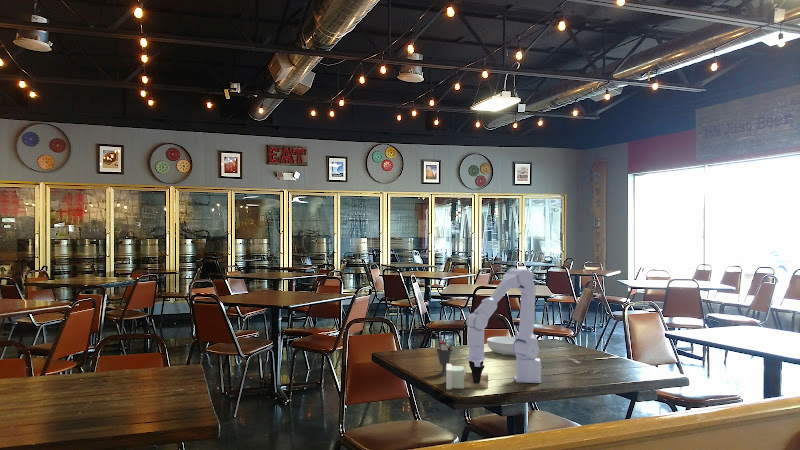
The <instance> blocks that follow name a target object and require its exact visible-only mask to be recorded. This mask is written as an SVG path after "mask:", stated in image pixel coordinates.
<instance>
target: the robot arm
mask: <svg viewBox="0 0 800 450" xmlns="http://www.w3.org/2000/svg"><path fill="white" fill-rule="evenodd" d="M515 288H516V289H517V290H518V291H519V292H520V293H521V294H520V309H519V310H520V311H519V325H518V326H519V329H518V333H516V334H515V336H514V337H515V341H514V343H513V347H512V348H513V351H514V353H515V354H516V355H515V357H516V359H515V360H516V361H515V363H516V365H515V367H516V368H515V371H516V373H515V376H513V378H514V380H515V383H524V384H525V383H527V384H528V383H530V384H532V383H533V384H540V383H541V384H542V362H541V358H539V357H538V355H539V353H540V347H539V343H538V339H537V337H536V336H535V334H534V329H535V328H534V326H535V312H536V311H535V309H536V307H535V305H536V292H537V291H536V288H537V287H536V285H535V282H534V274H533V273H532V272H531V271H530V270H529V269H527V268H526V269H524V268H523V269H521V268H513V267H510V268H508V269H507V270H506V272H505V273H504V274H503V275H502V279H501V281H500V282H499V283H498V285H497V286H496V288H495V289H494V291H493V292H492V294H491V295H490V297H486V298H484V299H482V300H481V303H480V304H479V306H478V307H477V308H476V309H474V311H473V312H471V313H470V314H468V315H467V319H466V320H465V324H466V326H467V328H468V356H465V359H466V360H468V365H469V368H470V371H471V373H472V376H473V382H474V383H476V384H479V383H480V379H481V374H482V373H483V370H484V369H485V365H484V360H485V328H487V326H488V325H489V324H488V322H489V320H490V317H491V316H492V315H493V313H495V311H496V310H497V308H498V304H499V303H498V302H500V300H501V299H502V298H503V297H504V296H505V295H506V293H508V291H510V290H511V289H515Z"/></svg>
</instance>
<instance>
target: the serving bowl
mask: <svg viewBox="0 0 800 450" xmlns="http://www.w3.org/2000/svg"><path fill="white" fill-rule="evenodd" d="M486 341H487V342H486V343H487V346H488V348H489V349H490V350H491V351H492V352H493V353H496V354H500V355H502V356H507V355H508V356H511V357H512V356H516V354H515V353H514V351H513V348H512V347H513V343H514V341H515V336H492V337H491V336H490V337H488V338H487V339H486Z"/></svg>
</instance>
